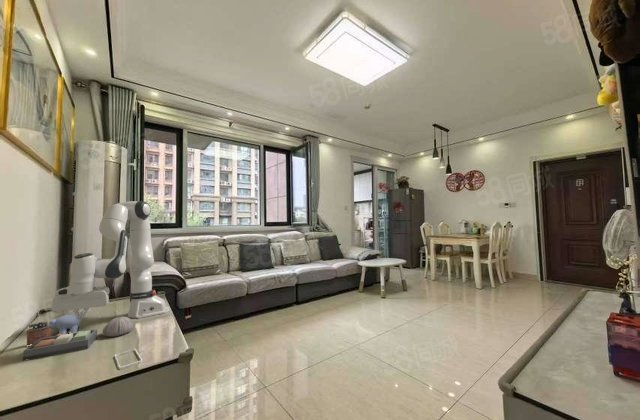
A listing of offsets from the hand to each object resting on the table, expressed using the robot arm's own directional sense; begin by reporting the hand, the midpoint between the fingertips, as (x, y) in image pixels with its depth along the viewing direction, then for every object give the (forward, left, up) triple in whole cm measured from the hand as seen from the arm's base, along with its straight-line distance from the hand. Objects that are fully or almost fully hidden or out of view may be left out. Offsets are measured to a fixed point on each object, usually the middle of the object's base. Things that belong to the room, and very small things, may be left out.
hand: (80, 318), depth 124 cm
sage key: (0, 0, -9) cm, 9 cm away
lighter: (+19, -13, -13) cm, 26 cm away
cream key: (+6, 0, -9) cm, 11 cm away
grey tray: (+6, 0, -12) cm, 14 cm away
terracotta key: (+13, 0, -10) cm, 16 cm away
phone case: (-23, +29, -13) cm, 39 cm away
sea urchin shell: (-13, -8, -13) cm, 20 cm away
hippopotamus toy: (+14, -26, -13) cm, 32 cm away
